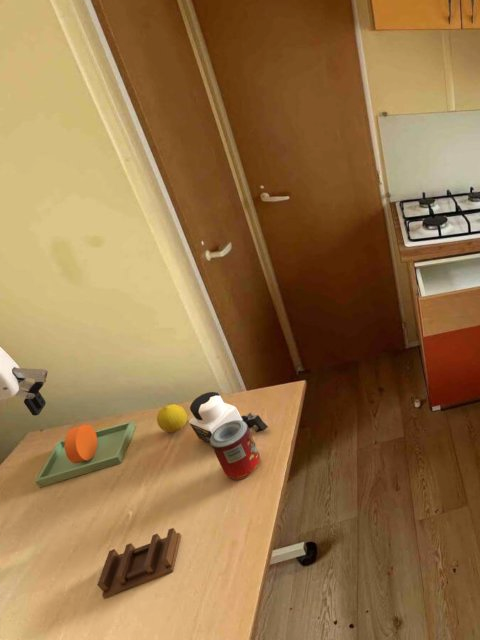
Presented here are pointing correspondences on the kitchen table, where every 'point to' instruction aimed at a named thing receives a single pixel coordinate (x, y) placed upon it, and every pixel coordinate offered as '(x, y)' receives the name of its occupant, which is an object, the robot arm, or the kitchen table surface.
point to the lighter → (254, 422)
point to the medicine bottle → (211, 415)
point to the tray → (107, 454)
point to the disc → (80, 443)
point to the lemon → (171, 418)
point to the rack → (139, 564)
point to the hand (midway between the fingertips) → (5, 419)
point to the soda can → (235, 449)
